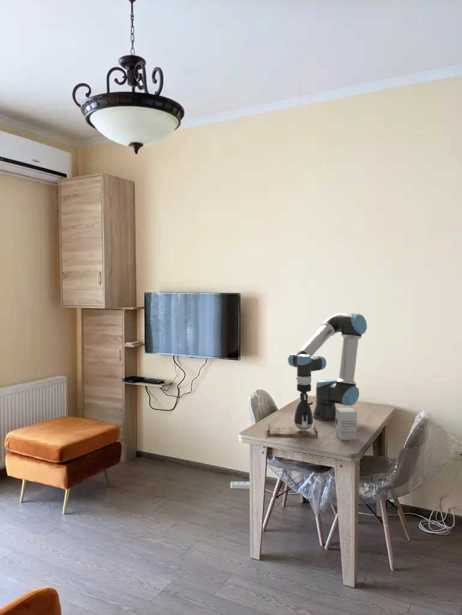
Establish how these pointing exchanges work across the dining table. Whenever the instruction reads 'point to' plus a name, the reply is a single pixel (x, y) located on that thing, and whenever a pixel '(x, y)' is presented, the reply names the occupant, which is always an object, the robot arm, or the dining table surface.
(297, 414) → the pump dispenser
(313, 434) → the ledge board
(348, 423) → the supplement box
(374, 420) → the dining table surface
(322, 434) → the dining table surface
